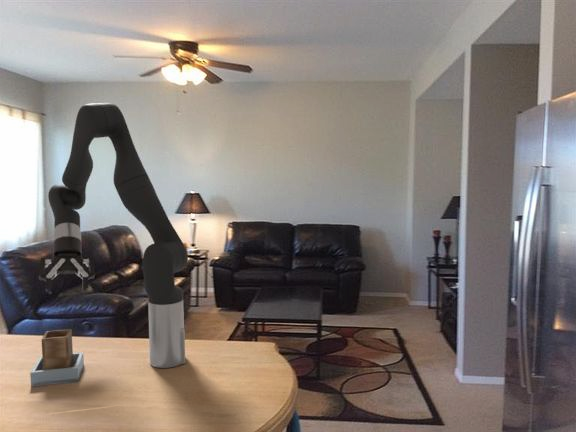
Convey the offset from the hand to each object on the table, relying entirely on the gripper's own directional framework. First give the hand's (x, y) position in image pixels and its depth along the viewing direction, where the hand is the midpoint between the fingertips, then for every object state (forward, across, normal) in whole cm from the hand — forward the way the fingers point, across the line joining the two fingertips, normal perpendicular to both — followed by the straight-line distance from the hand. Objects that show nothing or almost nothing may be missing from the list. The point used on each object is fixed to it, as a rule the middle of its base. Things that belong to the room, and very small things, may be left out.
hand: (67, 292), depth 135 cm
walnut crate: (+21, -2, +3) cm, 21 cm away
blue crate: (+22, -2, +4) cm, 22 cm away
